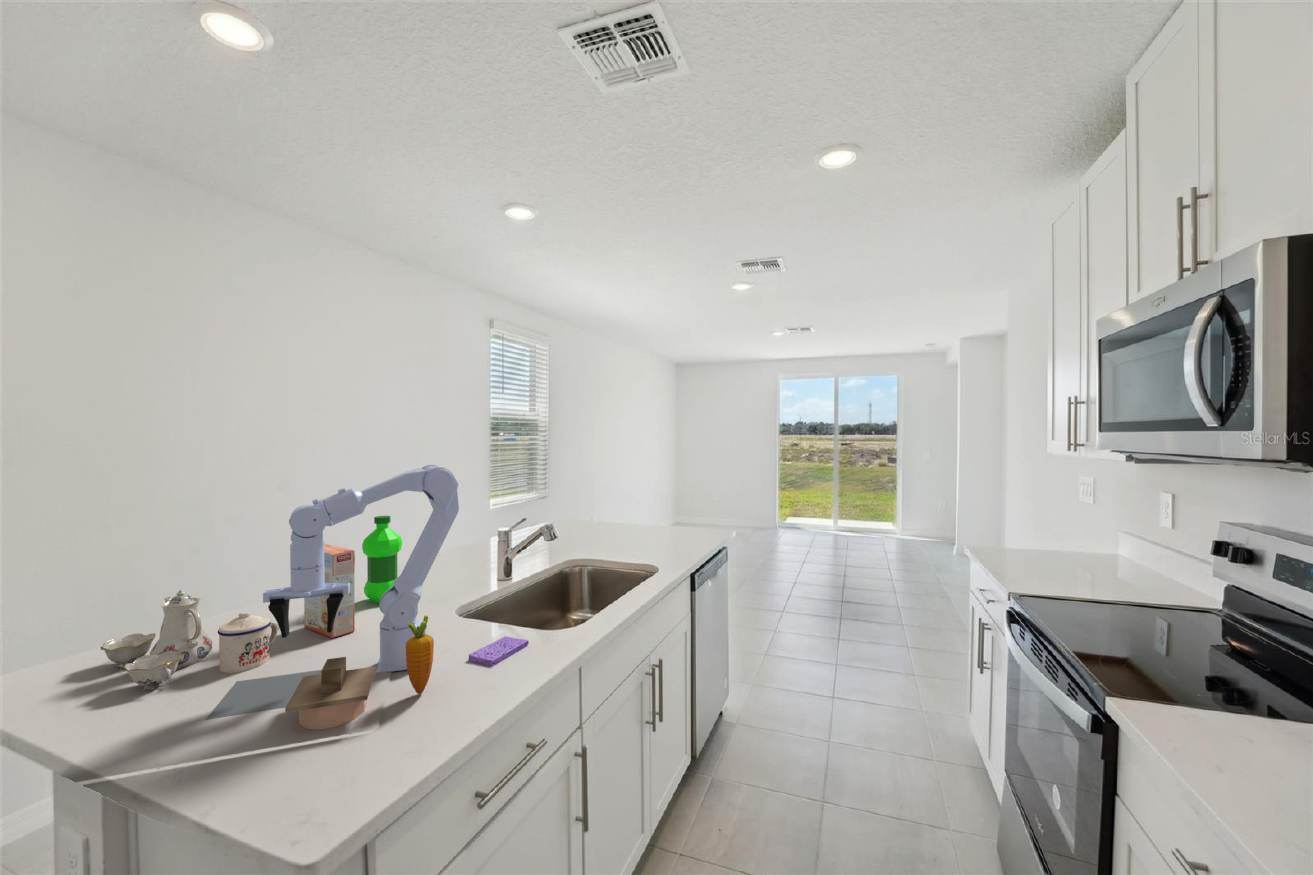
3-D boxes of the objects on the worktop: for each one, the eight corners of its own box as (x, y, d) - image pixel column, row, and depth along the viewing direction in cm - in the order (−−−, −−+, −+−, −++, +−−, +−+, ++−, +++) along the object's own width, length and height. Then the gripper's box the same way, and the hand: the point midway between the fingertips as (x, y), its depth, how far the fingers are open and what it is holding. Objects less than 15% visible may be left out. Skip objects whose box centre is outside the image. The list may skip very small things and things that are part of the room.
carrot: (406, 703, 101) (406, 623, 100) (405, 691, 105) (405, 615, 105) (434, 697, 103) (434, 619, 103) (432, 686, 107) (432, 611, 107)
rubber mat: (323, 671, 113) (323, 669, 113) (305, 706, 99) (305, 703, 99) (236, 683, 108) (236, 681, 108) (205, 722, 94) (205, 719, 94)
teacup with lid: (241, 677, 111) (241, 621, 110) (206, 673, 113) (206, 617, 112) (292, 653, 122) (292, 602, 122) (260, 649, 124) (259, 599, 124)
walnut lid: (375, 670, 104) (375, 646, 104) (367, 699, 93) (367, 672, 93) (303, 680, 100) (303, 655, 100) (285, 712, 89) (285, 684, 89)
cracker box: (356, 631, 135) (356, 549, 135) (331, 639, 130) (330, 554, 130) (328, 620, 143) (327, 542, 143) (303, 627, 138) (302, 546, 137)
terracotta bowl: (369, 697, 103) (368, 674, 103) (361, 724, 93) (361, 699, 93) (308, 707, 99) (307, 683, 99) (293, 736, 90) (293, 710, 90)
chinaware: (87, 676, 114) (74, 601, 113) (184, 640, 129) (174, 574, 127) (144, 709, 101) (130, 625, 99) (244, 665, 116) (234, 592, 114)
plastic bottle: (409, 597, 163) (409, 515, 162) (378, 608, 153) (378, 520, 152) (386, 593, 167) (385, 513, 166) (355, 603, 157) (354, 518, 157)
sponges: (468, 662, 119) (468, 654, 119) (505, 642, 131) (505, 634, 131) (493, 668, 116) (493, 660, 116) (529, 647, 128) (529, 639, 128)
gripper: (257, 574, 101) (258, 646, 101) (345, 567, 106) (345, 635, 106) (269, 565, 107) (269, 632, 108) (351, 559, 113) (351, 623, 113)
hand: (308, 633), depth 107 cm, fingers open, 7 cm apart
